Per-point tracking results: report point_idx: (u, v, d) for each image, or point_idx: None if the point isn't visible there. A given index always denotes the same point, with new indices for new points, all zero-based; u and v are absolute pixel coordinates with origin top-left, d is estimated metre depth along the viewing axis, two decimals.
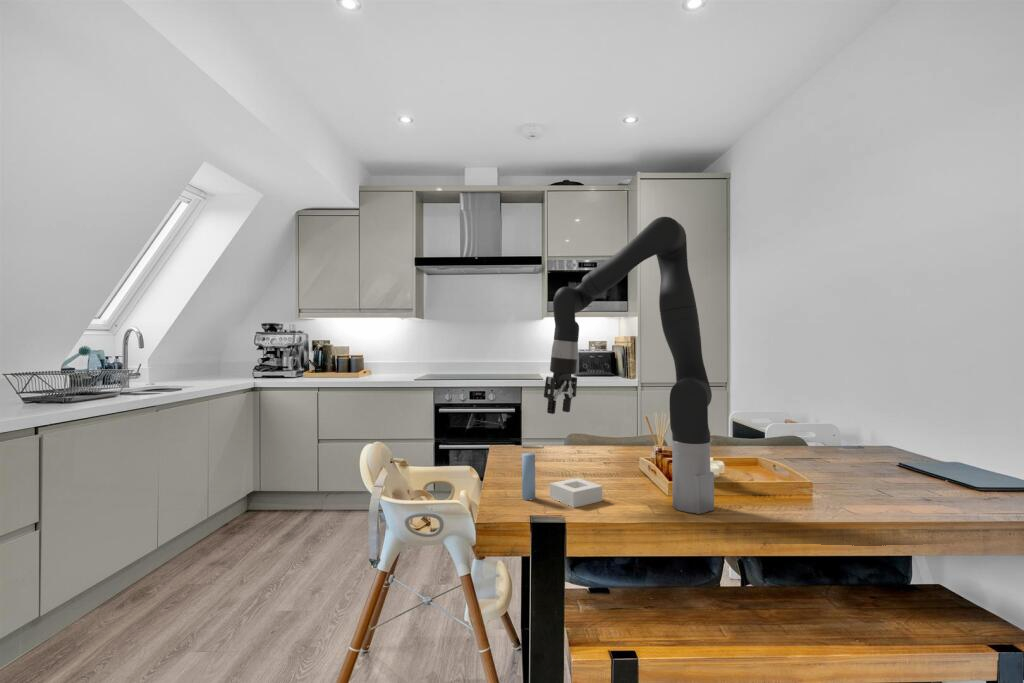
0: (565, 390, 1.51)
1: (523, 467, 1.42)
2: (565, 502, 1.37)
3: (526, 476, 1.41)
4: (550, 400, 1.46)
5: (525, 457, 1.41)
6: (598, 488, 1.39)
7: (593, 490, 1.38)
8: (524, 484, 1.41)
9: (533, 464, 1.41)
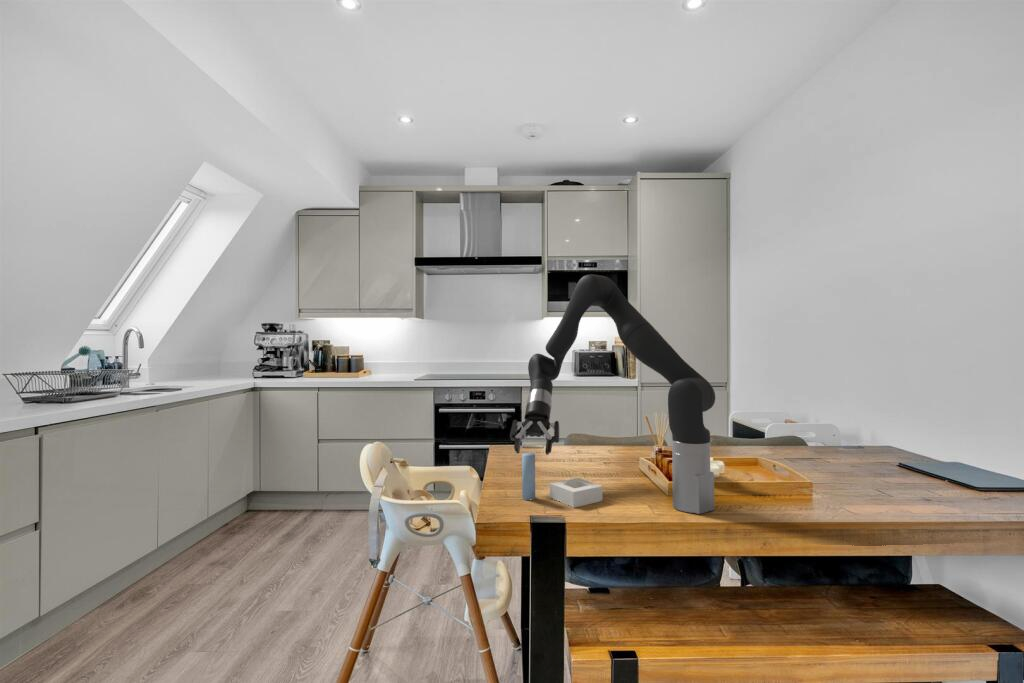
0: (537, 431, 1.52)
1: (523, 467, 1.42)
2: (565, 502, 1.37)
3: (526, 476, 1.41)
4: (515, 440, 1.52)
5: (525, 457, 1.41)
6: (598, 488, 1.39)
7: (593, 490, 1.38)
8: (524, 484, 1.41)
9: (533, 464, 1.41)
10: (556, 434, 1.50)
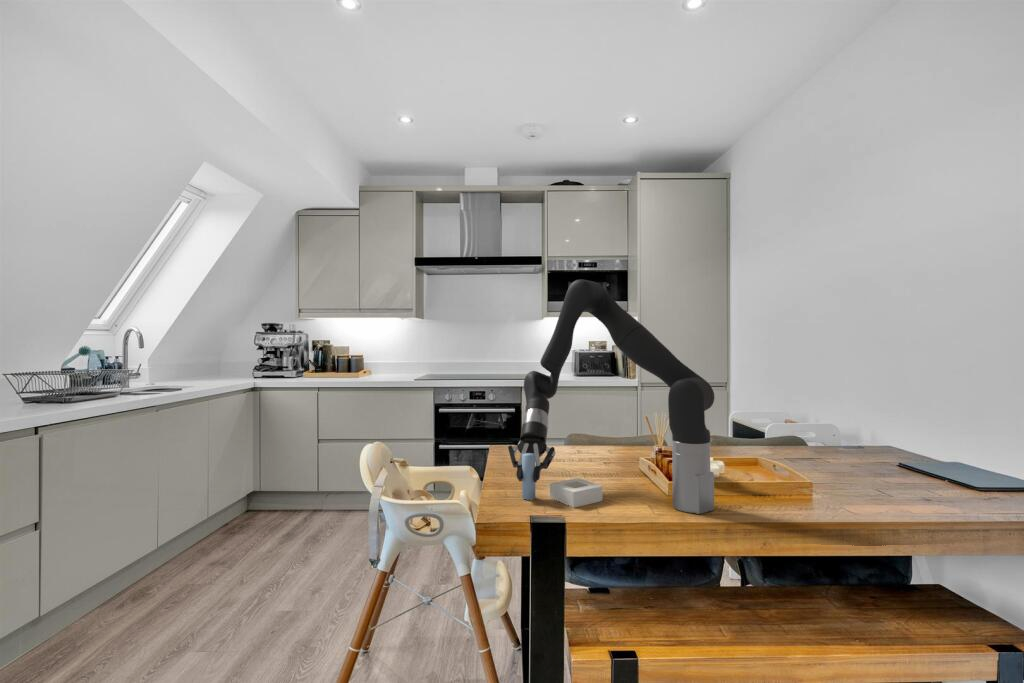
0: (529, 452, 1.46)
1: (523, 467, 1.42)
2: (565, 502, 1.37)
3: (526, 476, 1.41)
4: (517, 467, 1.44)
5: (525, 457, 1.41)
6: (598, 488, 1.39)
7: (593, 490, 1.38)
8: (524, 484, 1.41)
9: (533, 464, 1.41)
10: (545, 460, 1.43)
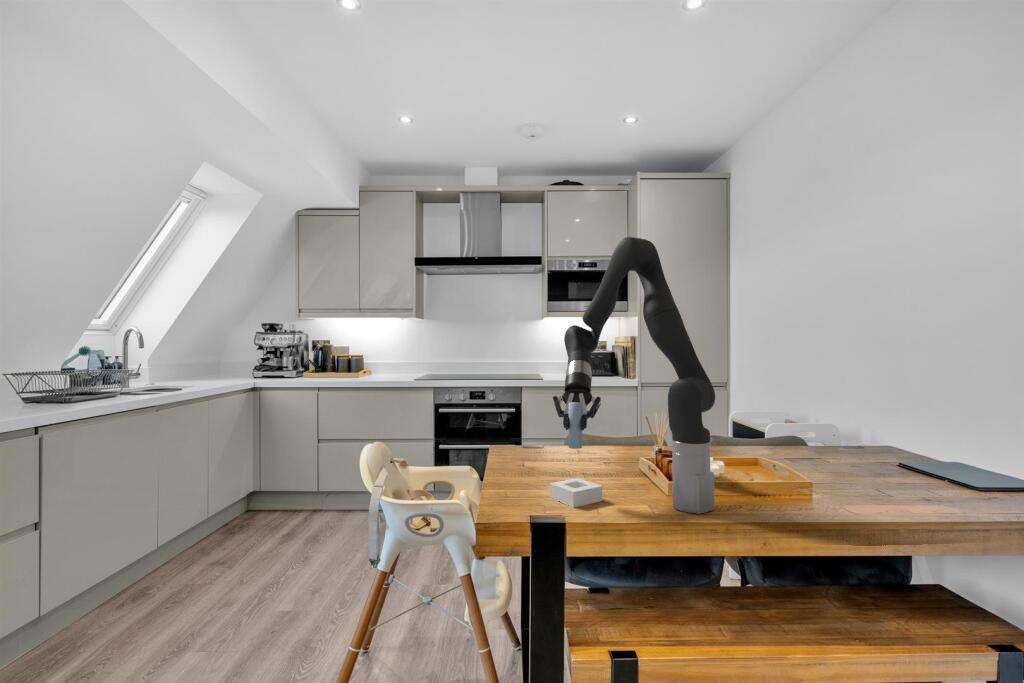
0: None
1: (570, 415, 1.40)
2: (565, 502, 1.37)
3: (574, 424, 1.40)
4: (563, 416, 1.43)
5: (572, 405, 1.40)
6: (598, 488, 1.39)
7: (593, 490, 1.38)
8: (571, 433, 1.40)
9: (580, 412, 1.40)
10: (592, 409, 1.41)
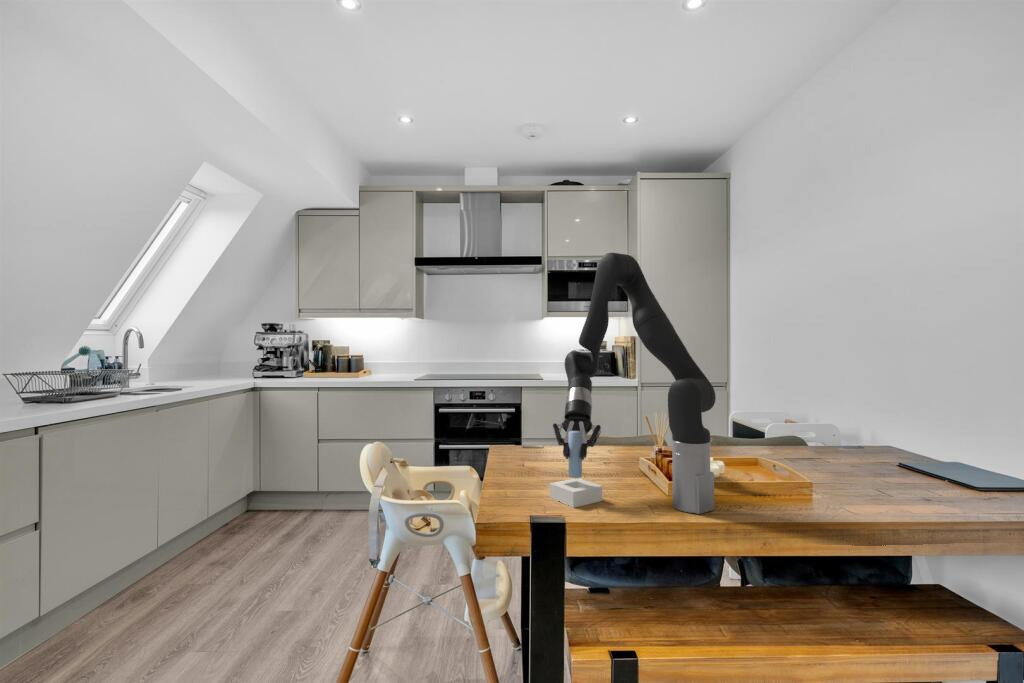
0: (575, 430, 1.44)
1: (570, 444, 1.40)
2: (565, 502, 1.37)
3: (573, 453, 1.40)
4: (563, 445, 1.43)
5: (572, 434, 1.40)
6: (598, 488, 1.39)
7: (593, 490, 1.38)
8: (571, 462, 1.40)
9: (580, 441, 1.40)
10: (592, 438, 1.41)
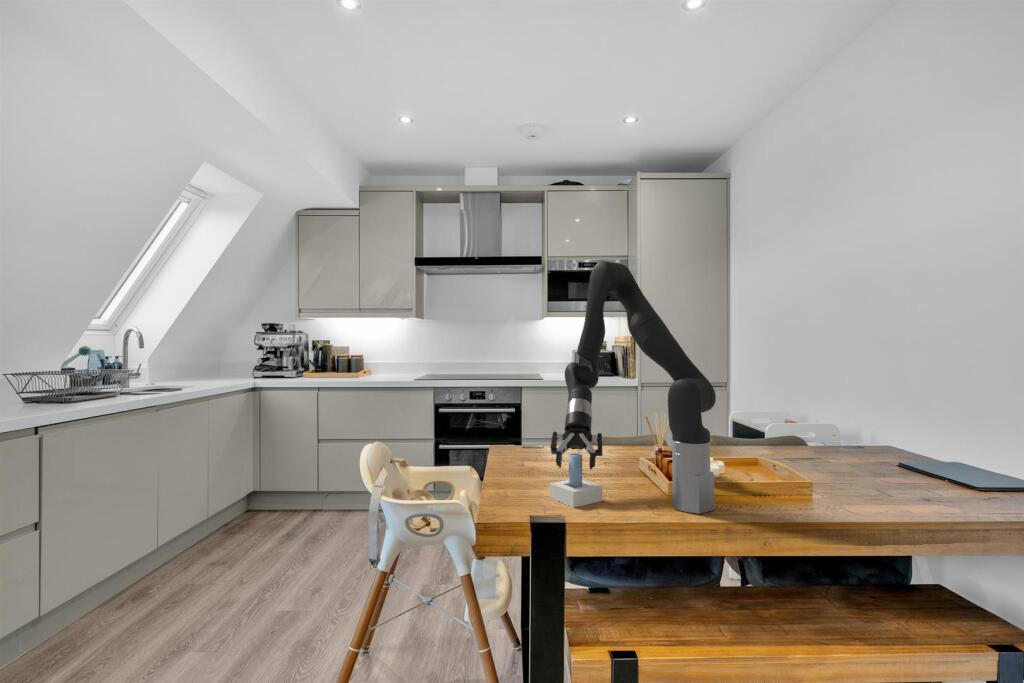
0: (579, 444, 1.44)
1: (570, 468, 1.40)
2: (565, 502, 1.37)
3: (574, 476, 1.40)
4: (556, 453, 1.44)
5: (573, 458, 1.40)
6: (598, 488, 1.39)
7: (593, 490, 1.38)
8: (571, 485, 1.40)
9: (580, 465, 1.40)
10: (600, 447, 1.42)
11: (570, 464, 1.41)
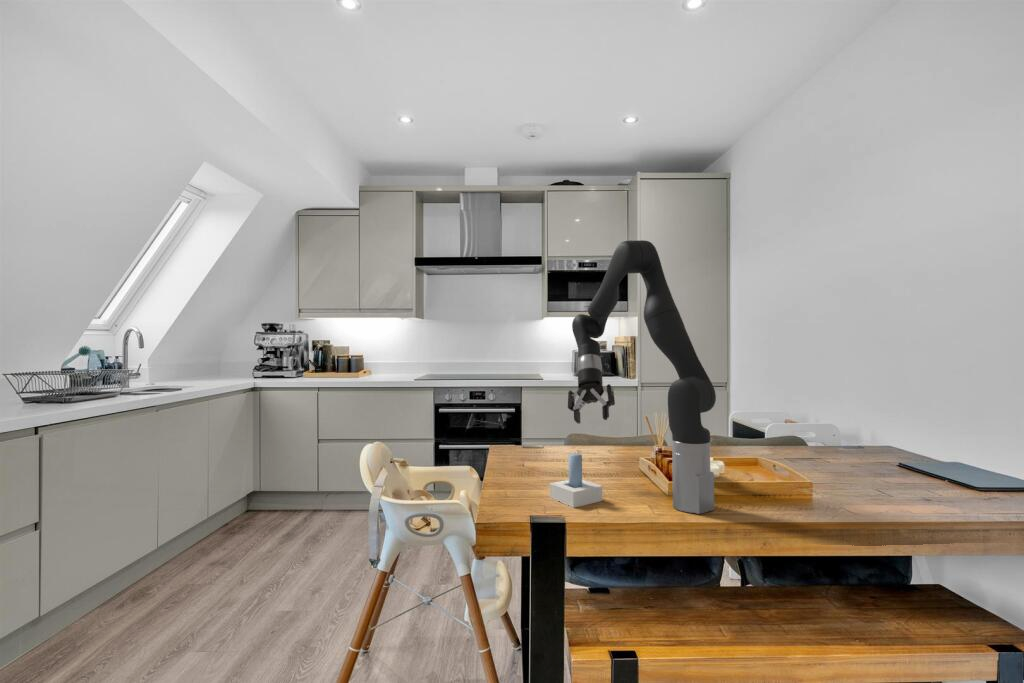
0: (591, 398, 1.58)
1: (570, 468, 1.40)
2: (565, 502, 1.37)
3: (574, 476, 1.40)
4: (574, 411, 1.60)
5: (572, 458, 1.40)
6: (598, 488, 1.39)
7: (593, 490, 1.38)
8: (571, 485, 1.40)
9: (580, 465, 1.40)
10: (610, 399, 1.54)
11: (570, 464, 1.41)
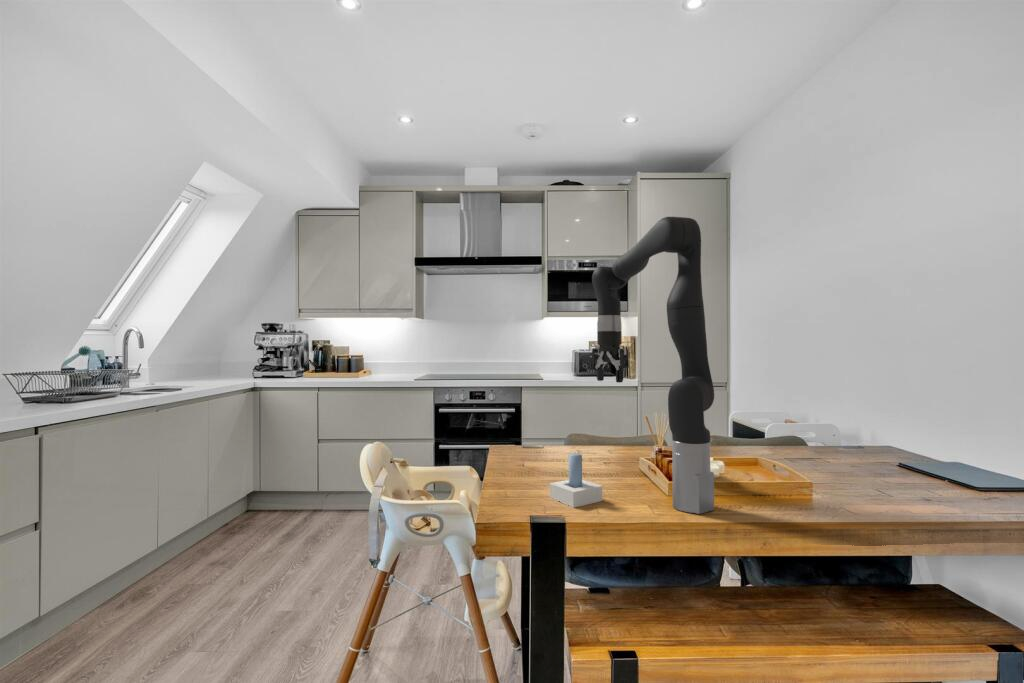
0: (608, 360, 1.63)
1: (570, 468, 1.41)
2: (565, 502, 1.37)
3: (574, 476, 1.40)
4: None
5: (572, 458, 1.40)
6: (598, 488, 1.39)
7: (593, 490, 1.38)
8: (571, 485, 1.40)
9: (580, 465, 1.40)
10: (621, 364, 1.58)
11: (570, 464, 1.41)
